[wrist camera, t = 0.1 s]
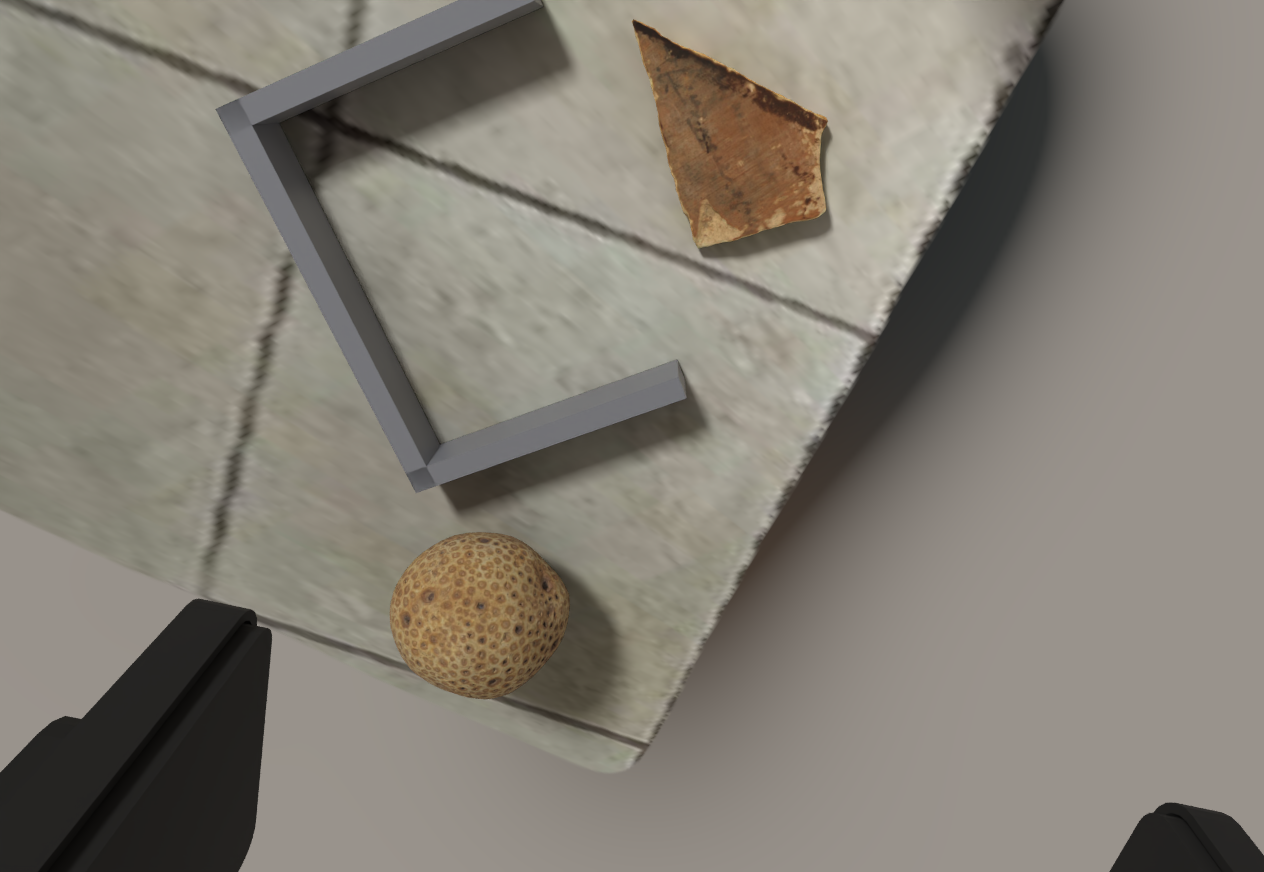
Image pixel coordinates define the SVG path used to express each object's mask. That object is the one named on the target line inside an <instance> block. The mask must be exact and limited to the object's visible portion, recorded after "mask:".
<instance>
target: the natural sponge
mask: <svg viewBox="0 0 1264 872" xmlns="http://www.w3.org/2000/svg"><path fill="white" fill-rule="evenodd" d="M569 607H570V599H569V593H568V591H567V589H566V587H565V585H564V583H563V582H562V580H561V578H560V577H559V576H558V574H557V573H556V572H555V571H554V570H553V569H552V568H551V567H550V566H549V565H548V564H547V563H546V562H545V561H544V560H543V559H542V558H541V557H540V556H539V554H538V553H537V552H535V551H534V550H533V549H532V548H531V547H529V546H528V545H527V544H525V543H524V542H522V541H520V540H518V539H516V538H514V537H511V536H507V535H503V534H497V533H484V532H477V533H465V534H459V535H454V536H452V537H449V538H447V539H445V540H442V541H440V542H439V543H437V544H435V545H434V546H432V547H430V548H429V549H427V550H426V551H424V552H423V553H422V554H421V555H420V556H418V557H417V558H416V559H415V560H414V561H413V562H412V563H411V565H410V566H409V567H408V568H407V569H406V570H405V572H404V574H403V575H402V577H401V578H400V580H399V581H398V583H397V585H396V587H395V590H394V593H393V597H392V600H391V605H390V625H391V630H392V634H393V637H394V640H395V643H396V646H397V648H398V650H399V652H400V654H401V656H402V658H403V659H404V661H405V662H406V663H407V665H408V666H409V668H410V669H411V670H412V671H413V672H414V673H416V674H417V675H418V676H420V677H421V678H423V679H424V680H426V681H427V682H429V683H431V684H432V685H434V686H436V687H438V688H441V689H443V690H446V691H449V692H452V693H455V694H458V695H461V696H465V697H469V698H478V699H492V698H496V697H500V696H503V695H507V694H509V693H511V692H513V691H514V690H516V689H517V688H519V687H520V686H522V685H523V684H524V683H526V682H527V681H528V680H529V679H530V678H532V677H533V676H534V675H535V674H536V673H537V672H538V671H539V670H540V669H541V667H542V666H543V665H544V664H545V663H546V662H547V661H548V659H549V658H550V657H551V656H552V654H553V653H554V652H555V650H556V649H557V647H558V646H559V644H560V642H561V640H562V638H563V636H564V633H565V630H566V626H567V622H568V617H569Z"/></svg>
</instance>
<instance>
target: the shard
mask: <svg viewBox="0 0 1264 872" xmlns="http://www.w3.org/2000/svg"><path fill="white" fill-rule="evenodd" d="M632 23H633V26H634V30H635V36H636V39H637V41H638V44H639V48H640V53H641V56H642V60H643V64H644V66H645V68H646V71H647V74H648V76H649V79H650V83H651V87H652V91H653V94H654V98H655V101H656V106H657V111H658V119H659V126H660V130H661V134H662V138H663V141H664V144H665V147H666V151H667V158H668V163H669V167H670V169H671V174H672V176H673V177H674V181H675V186H676V191H677V193H678V196H679V200H680V203H681V206H682V209H683V212H684V214H685V215H686V216H687V217H688V219H689V221H690V226H691V230H692V235H693V240H694V242H695V243H696V246H697V247H698V248H703V247H708V246H712V245H714V244H720V243H723V242H732V241H735V240H738V239H741V238H744V237H748V236H751V235H754V234H757V233H759V232H761V231H764V230H768V229H772V228H775V227H779V226H782V225H785V224H788V223H792V222H796V221H807V220H812V219H815V218H818V217H819V216H821V215H822V214H823V213H825V212H826V203H825V196H824V192H823V190H822V179H821V172H820V161H819V160H820V146H821V135H822V133H823V130H824V129H825V127H826V125H827V122H828V120H827V119H826V117H824V116H822V115H819V114H815V113H813V112H812V111H810V110H807V109H805V108H803V107H801V106H800V105H798V104H796V103H795V102H793V101H792V100H790V99H787V98H785V97H784V96H782V95H779V94H777V93H775V92H773V91H771V90H769V89H767V88H765V87H763V86H761V85H759V84H757V83H756V82H754V81H752V80H750V79H748V78H747V77H745V76H744V75H742V74H740V73H738V72H736V71H735V70H734V69H732V68H728V67H727V66H725V65H724V64H722V63H720V62H718V61H716V60H714V59H712V58H710V57H708V56H706V55H705V54H702V53H699V52H696V51H693V50H691V49H689V48H685V47H683V46H680V45H678V44H677V43H675V42H672V41H671V40H669V39H668V38H666V37H663V36H662V35H661V34H660V33H659V32H658V31H657V30H656V29H654V28H652V27H649V26H647V25H645V24H643V23H642V22H639V21H636V20H634V19H633V21H632Z"/></svg>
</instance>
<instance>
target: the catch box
mask: <svg viewBox="0 0 1264 872" xmlns="http://www.w3.org/2000/svg"><path fill="white" fill-rule="evenodd" d="M542 7H543V5H542V2H541V0H458V1H455V2H453V3H451V4H449V5H446V6H444V7H442V8H440V9H438V10H435V11H433V12H431V13H429V14H426V15H424V16H422V17H420V18H417V19H415V20H413V21H411V22H409V23H406V24H404V25H402V26H400V27H397V28H395V29H393V30H391V31H388V32H386V33H384V34H382V35H380V36H377V37H375V38H373V39H371V40H368V41H366V42H364V43H362V44H359V45H357V46H355V47H353V48H351V49H348V50H346V51H344V52H342V53H339V54H337V55H335V56H333V57H331V58H328V59H326V60H324V61H322V62H319V63H317V64H315V65H313V66H310V67H308V68H306V69H304V70H302V71H299V72H297V73H295V74H293V75H290V76H288V77H286V78H284V79H281V80H279V81H277V82H275V83H273V84H270V85H268V86H266V87H264V88H261V89H259V90H257V91H255V92H252V93H250V94H248V95H246V96H244V97H241V98H239V99H237V100H235V101H232V102H230V103H228V104H226V105H223V106H221V107H219V108H217V109H216V111H217V113H218V115H219V117H220V119H221V121H222V122H223V124H224V126H225V128H226V130H227V132H228V134H229V136H230V138H231V140H232V142H233V143H234V145H235V147H236V149H237V151H238V153H239V155H240V157H241V159H242V161H243V163H244V165H245V166H246V168H247V170H248V172H249V174H250V176H251V178H252V180H253V182H254V184H255V186H256V188H257V189H258V191H259V193H260V195H261V197H262V199H263V201H264V203H265V205H266V207H267V209H268V210H269V212H270V214H271V216H272V218H273V220H274V222H275V224H276V226H277V228H278V230H279V232H280V233H281V235H282V237H283V239H284V241H285V243H286V245H287V247H288V249H289V251H290V253H291V254H292V256H293V258H294V260H295V262H296V264H297V266H298V268H299V270H300V272H301V274H302V276H303V277H304V279H305V281H306V283H307V285H308V287H309V289H310V291H311V293H312V295H313V297H314V299H315V300H316V302H317V304H318V306H319V308H320V310H321V312H322V314H323V316H324V318H325V320H326V321H327V323H328V325H329V327H330V329H331V331H332V333H333V335H334V337H335V339H336V341H337V343H338V344H339V346H340V348H341V350H342V352H343V354H344V356H345V358H346V360H347V362H348V364H349V366H350V367H351V369H352V371H353V373H354V375H355V377H356V379H357V381H358V383H359V385H360V387H361V388H362V390H363V392H364V394H365V396H366V398H367V400H368V402H369V404H370V406H371V408H372V410H373V411H374V413H375V415H376V417H377V419H378V421H379V423H380V425H381V427H382V429H383V431H384V433H385V434H386V436H387V438H388V440H389V442H390V444H391V446H392V448H393V450H394V452H395V454H396V455H397V457H398V459H399V461H400V463H401V465H402V467H403V469H404V471H405V473H406V475H407V477H408V478H409V480H410V482H411V484H412V486H413V488H414V490H415V492H416V493H417V492H420V491H423V490H426V489H429V488H432V487H435V486H437V485H440V484H443V483H446V482H449V481H452V480H455V479H457V478H460V477H463V476H466V475H469V474H472V473H475V472H477V471H480V470H483V469H486V468H489V467H492V466H495V465H497V464H500V463H503V462H506V461H509V460H512V459H515V458H517V457H520V456H523V455H526V454H529V453H532V452H535V451H537V450H540V449H543V448H546V447H549V446H552V445H555V444H557V443H560V442H563V441H566V440H569V439H572V438H575V437H577V436H580V435H583V434H586V433H589V432H592V431H595V430H597V429H600V428H603V427H606V426H609V425H612V424H614V423H617V422H620V421H623V420H626V419H629V418H632V417H634V416H637V415H640V414H643V413H646V412H649V411H652V410H654V409H657V408H660V407H663V406H666V405H669V404H672V403H674V402H677V401H680V400H683V399H686V386H685V378H684V376H683V373H682V370H681V368H680V365H679V363H678V360H674V361H672V362H669V363H666V364H663V365H660V366H658V367H655V368H652V369H649V370H646V371H644V372H641V373H638V374H635V375H632V376H630V377H627V378H624V379H621V380H619V381H616V382H613V383H610V384H607V385H605V386H602V387H599V388H596V389H593V390H591V391H588V392H585V393H582V394H579V395H577V396H574V397H571V398H568V399H566V400H563V401H560V402H557V403H554V404H552V405H549V406H546V407H543V408H540V409H538V410H535V411H532V412H529V413H527V414H524V415H521V416H518V417H515V418H513V419H510V420H507V421H504V422H501V423H499V424H496V425H493V426H490V427H487V428H485V429H482V430H479V431H476V432H474V433H471V434H468V435H465V436H462V437H460V438H457V439H454V440H451V441H448V442H446V443H443V444H439V442H438V440H437V438H436V436H435V434H434V432H433V430H432V428H431V426H430V424H429V422H428V420H427V418H426V416H425V414H424V412H423V410H422V408H421V406H420V404H419V402H418V400H417V398H416V396H415V394H414V392H413V390H412V388H411V386H410V384H409V382H408V380H407V378H406V376H405V374H404V372H403V370H402V368H401V366H400V364H399V362H398V360H397V358H396V356H395V354H394V352H393V350H392V348H391V346H390V344H389V342H388V340H387V338H386V336H385V334H384V332H383V330H382V328H381V326H380V324H379V322H378V320H377V318H376V316H375V314H374V312H373V310H372V308H371V306H370V304H369V302H368V300H367V298H366V296H365V294H364V292H363V290H362V288H361V286H360V284H359V282H358V280H357V278H356V276H355V274H354V272H353V270H352V268H351V266H350V264H349V262H348V260H347V258H346V256H345V254H344V252H343V250H342V248H341V246H340V244H339V242H338V240H337V238H336V236H335V234H334V232H333V230H332V228H331V226H330V224H329V222H328V220H327V218H326V216H325V214H324V212H323V210H322V208H321V206H320V204H319V202H318V200H317V198H316V196H315V194H314V192H313V190H312V188H311V186H310V184H309V182H308V180H307V178H306V176H305V174H304V172H303V170H302V168H301V166H300V164H299V162H298V160H297V158H296V156H295V154H294V152H293V150H292V148H291V146H290V144H289V142H288V140H287V138H286V136H285V134H284V132H283V130H282V128H281V126H280V124H279V123H280V122H282V121H284V120H287V119H289V118H291V117H294V116H296V115H298V114H300V113H303V112H305V111H307V110H309V109H312V108H314V107H316V106H319V105H321V104H323V103H325V102H328V101H330V100H332V99H335V98H337V97H339V96H341V95H344V94H346V93H348V92H350V91H353V90H355V89H357V88H360V87H362V86H364V85H366V84H369V83H371V82H373V81H375V80H378V79H380V78H382V77H385V76H387V75H389V74H391V73H394V72H396V71H398V70H401V69H403V68H405V67H407V66H410V65H412V64H414V63H416V62H419V61H421V60H423V59H426V58H428V57H430V56H432V55H435V54H437V53H439V52H441V51H444V50H446V49H448V48H451V47H453V46H455V45H457V44H460V43H462V42H464V41H467V40H469V39H471V38H473V37H476V36H478V35H480V34H482V33H485V32H487V31H489V30H492V29H494V28H496V27H498V26H501V25H503V24H505V23H507V22H510V21H512V20H514V19H517V18H519V17H521V16H523V15H526V14H528V13H530V12H532V11H535V10H537V9H539V8H542Z"/></svg>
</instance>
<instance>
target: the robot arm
mask: <svg viewBox="0 0 1264 872" xmlns="http://www.w3.org/2000/svg"><path fill="white" fill-rule="evenodd" d="M271 644H272V634H271V630H270V629H268V628H264V627H259V626H257V617H256V614H255V612H254V611H253V610H251V609H246V608H241V607H236V606H232V605H227V604H222V603H217V602H213V601H208V600H203V599H195V600H192V601H191V602H190V603H189V604H188V605H186V606H185V607H184V609H183V610H182V611H181V612H180V613H179V614H178V615H177V616H176V617H175V619H174V620H173V621H172V622H171V623H170V624H169V625H168V626H167V627H166V628H165V629H164V630H163V631H162V632H161V634H160V635H159V636H158V637H157V638H156V639H155V640H154V641H153V642H152V643H151V645H149V647H148V648H147V649H146V650H145V651H144V652H143V653H142V654H141V656H139V657H138V659H137V660H136V661H135V662H134V663H133V664H132V665H131V666H130V667H129V668H128V669H127V670H126V672H125V673H124V674H123V675H122V676H121V677H120V678H119V679H118V680H117V681H116V682H115V684H114V685H113V686H112V687H111V688H110V689H109V690H108V691H107V692H106V693H105V695H103V697H102V698H101V699H100V700H99V701H98V702H97V703H96V704H95V705H94V706H93V708H91V710H90V711H89V712H88V713H87V714H86V715H85V716H84V717H83V718H82V719H78V718H73V717H67V716H64V717H62V718H59V719H57V720H55V721H53V722H51V723H50V724H49V725H48V726H46V727H45V728H44V729H43V730H42V731H41V732H39V733H38V734H37V735H36V736H35V737H34V738H33V739H32V740H31V741H30V743H28V745H27V746H26V747H25V748H24V749H23V750H22V751H21V752H20V753H19V754H18V755H17V756H16V757H15V758H14V759H13V760H12V761H11V762H10V763H9V764H8V765H7V766H6V767H5V768H4V769H3V770H2V771H1V772H0V872H238V871H239V869H240V867H241V865H242V863H243V861H244V859H245V857H246V855H247V852H248V850H249V847H250V844H251V841H252V838H253V834H254V830H255V823H256V814H257V802H258V792H259V791H258V790H259V780H260V769H261V758H262V746H263V735H264V724H265V710H266V701H267V690H268V679H269V668H270V655H271ZM1110 872H1264V855H1263V854H1262V853H1261V851H1260V850H1259V849H1258V847H1257V846H1256V845H1255V844H1254V842H1253V841H1252V840H1251V839H1250V837H1249V836H1248V835H1247V834H1246V832H1245V831H1244V830H1243V828H1242V827H1241V826H1240V825H1239V824H1238V823H1237V822H1236V821H1235V820H1234V819H1233V818H1232V817H1230V816H1228V815H1226V814H1224V813H1222V812H1217V811H1212V810H1207V809H1203V808H1197V807H1193V806H1188V805H1183V804H1179V803H1165V804H1163V805H1161V806H1159V807H1158V808H1157V809H1156V810H1155V811H1154V813H1149V814H1147V815H1145V816H1143V818H1142V819H1141V820H1140V821H1139V823H1138V824H1137V826H1136V828H1135V830H1134V831H1133V833H1132V834H1131V836H1130V838H1129V840H1128V841H1127V843H1126V845H1125V846H1124V848H1123V850H1122V851H1121V853H1120V855H1119V857H1118V858H1117V860H1116V861H1115V863H1114V865H1113V867H1112V869H1111V870H1110Z"/></svg>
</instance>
